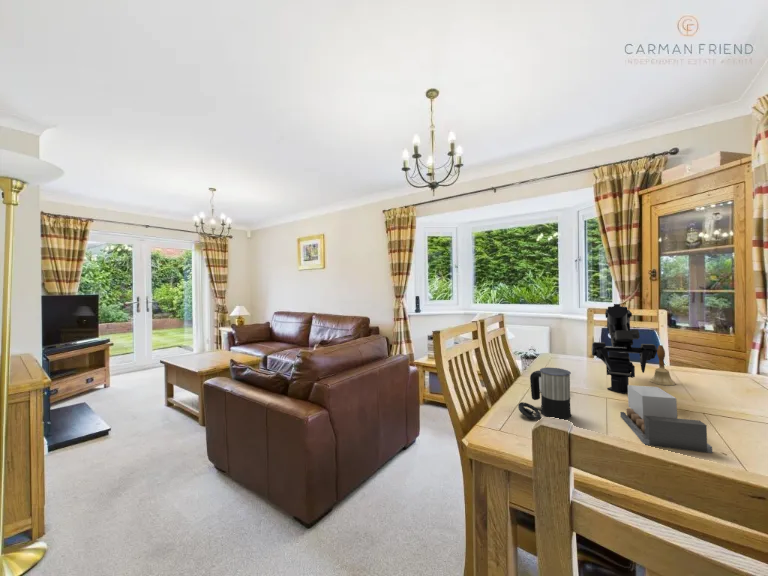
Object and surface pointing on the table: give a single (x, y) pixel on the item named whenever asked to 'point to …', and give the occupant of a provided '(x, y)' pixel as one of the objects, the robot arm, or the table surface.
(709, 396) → the table surface
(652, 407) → the grey block
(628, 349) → the robot arm
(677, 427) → the conveyor frame
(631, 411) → the roller
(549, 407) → the milk frother
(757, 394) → the table surface
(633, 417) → the roller
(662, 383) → the hand bell
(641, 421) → the roller
